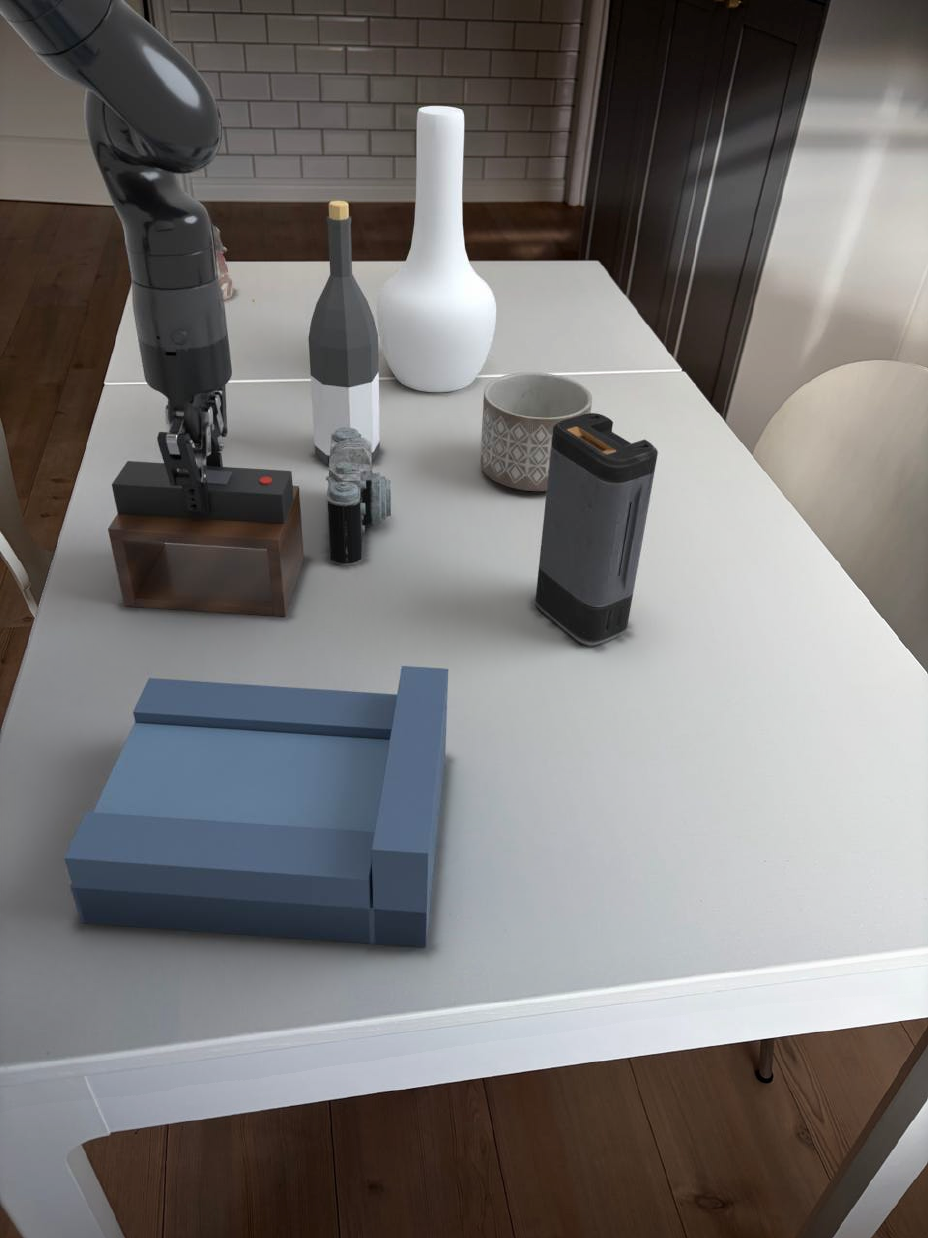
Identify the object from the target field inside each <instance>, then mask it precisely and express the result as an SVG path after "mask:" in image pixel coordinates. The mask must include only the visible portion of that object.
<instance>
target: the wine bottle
mask: <svg viewBox="0 0 928 1238" xmlns="http://www.w3.org/2000/svg"><path fill="white" fill-rule="evenodd" d="M349 213H350V211H349V203H348V202H347V201H344V200H331V201H330V202H329V203H328V216H327V217H326V223H327V232H328V233H327V235H328V254H329V255H328V256H329V257H328V259H329V276H328V279H327V281H326V283H325V285H324V287H323V289H322V291H321V293H320V295H319V298H318V299H317V302H316V304H315V307H314V311H313V314H312V318H311V321H310V327H309V332H308V338H307V339H308V355H309V356H308V357H309V370H310V371H309V372H310V373H309V374H310V389H311V405H312V406H311V407H312V420H313V422H312V423H313V439H314V452H315V456H316V457H317V458H318V459H319V460H320V461H321V462H323V464H325V465H326V466H327V467H328V458H330V445H331V434H333V433H335V431H336V430H338V429H340V428H354V429H356V430H357V431H358V433H359V434H361V438H365V439H366V440H368V441H369V442H370V443H371V445H372V464H373V463H374V462H375V460H376V458H377V456H378V454H379V453H380V445H381V444H380V443H381V441H380V440H381V439H380V435H381V434H380V433H381V432H380V378H379V375H380V373H379V371H380V370H379V332H378V328H377V325H376V319H375V318H374V314H373V312H372V309H371V307H370V305H369V302H368V300H367V298H366V296H365V295H364V293H363V290H361V288H360V285H359V284H358V282H357V280H356V278H355V276H354V274H353V264H352V263H353V259H352V258H353V257H352V256H353V255H352V253H353V252H352V228H351V227H352V225H351V223H352V216H350V215H349Z"/></svg>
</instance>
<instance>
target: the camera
mask: <svg viewBox="0 0 928 1238" xmlns="http://www.w3.org/2000/svg"><path fill="white" fill-rule="evenodd" d="M327 467H328V475H327V476H325V480H326V481H328V482H327V491H326V501H327V517H328V519H327V520H328V534H329V536H328V537H329V538H328V539H329V556H330V557H329V560H330V561H331V562H332V563H334V564H337V565H343V566H346V565H349V566H350V565H354V564H358V563H359V562H361V561H362V559H363V558H362V557H363V534H365V529H366V527H368V526H373V525H374V524H381V522H382V520H386V519H387V517H391V516H392V491H391V487H392V486H391V479H389V478H387V479H386V477H385V476H382V475H381V473H380V472H373V463H372V445H371V443H370V442H369V441H368V440H366V439H365V438H361V434H359V433H358V431H357V430H356V429H354V428H340V429H338V430H336V431H335V433H333V434H331V445H330V458H328V466H327Z"/></svg>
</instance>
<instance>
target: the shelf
mask: <svg viewBox="0 0 928 1238" xmlns="http://www.w3.org/2000/svg"><path fill="white" fill-rule="evenodd" d="M300 496H301V495H300V485H293V498H294V499H293V502H292V505H291V507H290V510H289V513H288V515H287V518H286V520H285V523H284V524H279V523H263V522H247V521H231V520H215V519H199V518H183V517H167V516H152V515H136V514H120V513H117V514H116V516H115V517H114V518H113V520H112V522H111V523H110V525H109V526H108V528H107V532H108V536H109V540H110V546H111V551H112V556H113V559H114V564H115V570H116V574H117V578H118V583H119V588H120V592H121V597H122V602H123V606H124V607H130V608H146V609H161V610H163V609H164V610H165V609H166V610H178V611H191V612H192V611H194V612H209V613H211V612H212V613H223V614H240V615H255V616H269V617H270V616H271V617H272V616H273V617H274V616H275V617H287V613H288V610H289V607H290V604H291V601H292V598H293V595H294V591H295V588H296V586H297V582H298V580H299V576H300V574H301V571H302V567H303V565H304V562H305V554H304V553H305V552H304V539H303V538H304V537H303V523H302V511H301V497H300Z"/></svg>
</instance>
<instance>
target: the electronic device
mask: <svg viewBox="0 0 928 1238" xmlns="http://www.w3.org/2000/svg"><path fill="white" fill-rule="evenodd" d="M613 425H614V422H613V420H612V419H611V418H609V417H607V416H606V415H603V414H601V413H597V412H591V413H588V414H583V415H580V416H576V417H573V418H569V419H566V420H563V421H560V422H559V423H557V424H556V425H555V426H554V427H553V434H552V444H551V453H550V463H549V473H548V483H547V491H545V492H546V493H545V503H544V505H545V506H544V513H543V523H542V533H541V542H540V550H539V551H540V553H539V561H538V562H539V563H538V570H537V571H538V572H537V579H536V581H537V582H536V592H535V600H534V601H535V605H536V607H537V608H538V609H539V610H540V611H541V612H543V614H545V615H546V616H547V617H549V619H551V620H552V621H553V622H554V623H556V624H557V626H559V627H560V628H561V629H563V630H564V631H565V632H566V633H568V634H569V636H571V637H572V638H574V639H575V640H576V641H578V642H579V643H581V644H583V645H585V646H590V647H591V646H593V647H594V646H596V645H600V644H603V643H605V642H608V641H610V640H612V639H614V638H615V639H616V638H617V637H619V636H622V635H624V634H625V633H626V632H627V629H628V624H629V621H630V614H631V608H632V603H633V597H634V591H635V585H636V579H637V574H638V569H639V563H640V558H641V557H640V556H641V552H642V545H643V541H644V534H645V530H646V529H645V528H646V523H647V516H648V511H649V506H650V500H651V494H652V488H653V483H654V477H655V471H656V467H657V460H658V454H659V451H658V449H657V448H656V447H655V445H654V444H652V443H651V442H649V440H647V439H641V440H638V441H635V442H629V441H628V440H627V439H625V438H623V437H621V436H619V435H618V434H616V433H615V432H613V427H614V426H613Z"/></svg>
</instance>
